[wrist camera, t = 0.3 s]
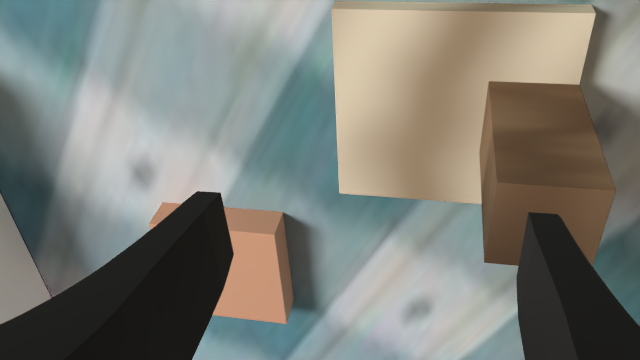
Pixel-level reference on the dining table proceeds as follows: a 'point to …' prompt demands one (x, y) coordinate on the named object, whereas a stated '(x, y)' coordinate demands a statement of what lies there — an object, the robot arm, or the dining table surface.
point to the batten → (17, 271)
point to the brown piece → (472, 113)
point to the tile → (253, 265)
